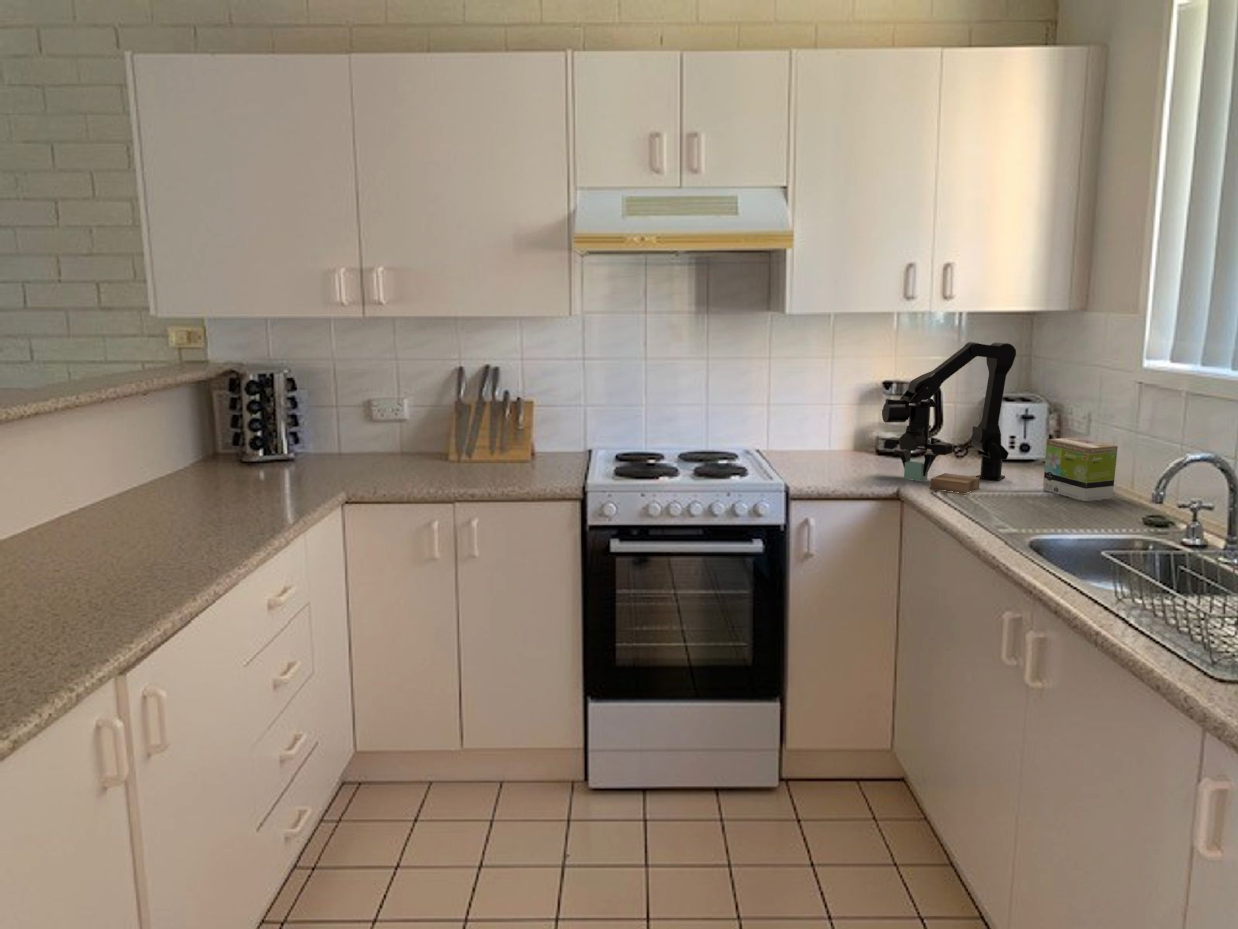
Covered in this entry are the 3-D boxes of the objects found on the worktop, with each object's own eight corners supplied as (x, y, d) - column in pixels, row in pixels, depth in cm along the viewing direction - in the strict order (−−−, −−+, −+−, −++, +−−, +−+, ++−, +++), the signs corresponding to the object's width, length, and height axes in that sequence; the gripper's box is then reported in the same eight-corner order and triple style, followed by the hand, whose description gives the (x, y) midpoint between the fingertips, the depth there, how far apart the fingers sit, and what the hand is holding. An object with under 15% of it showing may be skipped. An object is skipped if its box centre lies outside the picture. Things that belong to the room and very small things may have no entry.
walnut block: (944, 485, 265) (944, 473, 264) (979, 489, 258) (979, 477, 258) (929, 490, 257) (930, 478, 257) (965, 495, 251) (966, 483, 250)
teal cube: (911, 476, 275) (912, 460, 274) (927, 478, 271) (928, 462, 270) (903, 479, 271) (904, 462, 270) (920, 481, 268) (921, 464, 267)
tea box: (1041, 491, 255) (1045, 438, 252) (1069, 488, 258) (1074, 436, 256) (1084, 502, 241) (1089, 446, 238) (1114, 499, 244) (1119, 444, 242)
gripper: (876, 422, 268) (873, 474, 271) (939, 428, 256) (935, 483, 259) (893, 418, 276) (890, 469, 279) (954, 424, 264) (951, 477, 267)
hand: (915, 474), depth 271 cm, fingers closed on teal cube, 5 cm apart
